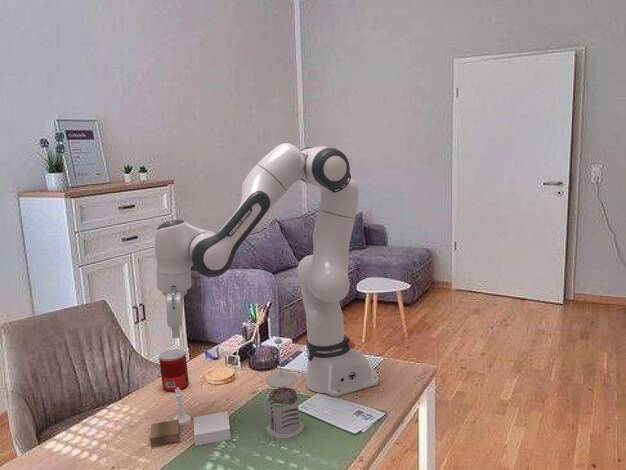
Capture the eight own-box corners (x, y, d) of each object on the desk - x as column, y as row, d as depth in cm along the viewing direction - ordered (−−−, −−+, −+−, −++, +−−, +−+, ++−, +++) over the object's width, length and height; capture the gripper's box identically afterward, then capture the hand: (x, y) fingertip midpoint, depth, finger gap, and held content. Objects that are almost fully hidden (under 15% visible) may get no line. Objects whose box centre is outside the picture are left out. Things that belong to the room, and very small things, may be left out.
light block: (228, 421, 144) (227, 411, 143) (231, 439, 135) (230, 428, 134) (194, 427, 142) (193, 417, 141) (195, 446, 133) (194, 435, 133)
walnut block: (179, 429, 142) (178, 419, 141) (179, 443, 135) (178, 433, 135) (152, 434, 140) (151, 423, 140) (151, 448, 134) (149, 438, 133)
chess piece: (186, 426, 142) (182, 392, 141) (169, 425, 144) (165, 391, 142) (193, 416, 147) (190, 383, 145) (177, 415, 148) (173, 383, 146)
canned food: (192, 386, 165) (189, 354, 163) (167, 395, 161) (163, 361, 159) (183, 378, 171) (180, 346, 169) (159, 386, 167) (155, 353, 165)
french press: (311, 427, 138) (305, 337, 134) (276, 446, 131) (268, 351, 126) (288, 413, 146) (281, 328, 141) (253, 431, 138) (245, 341, 133)
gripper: (186, 291, 131) (188, 344, 133) (186, 271, 150) (188, 317, 153) (159, 293, 129) (162, 346, 132) (163, 272, 149) (166, 319, 151)
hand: (176, 330), depth 142 cm, fingers open, 8 cm apart
